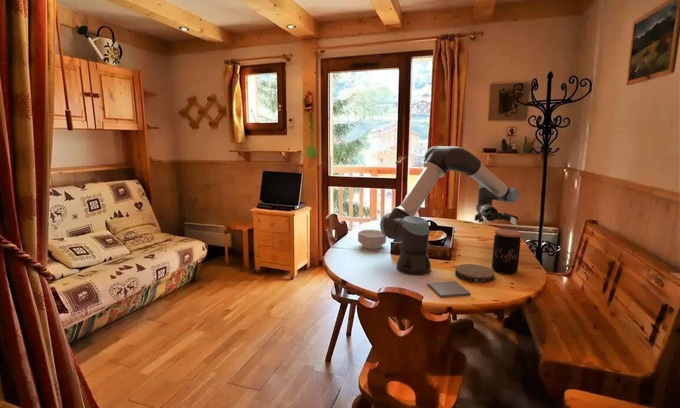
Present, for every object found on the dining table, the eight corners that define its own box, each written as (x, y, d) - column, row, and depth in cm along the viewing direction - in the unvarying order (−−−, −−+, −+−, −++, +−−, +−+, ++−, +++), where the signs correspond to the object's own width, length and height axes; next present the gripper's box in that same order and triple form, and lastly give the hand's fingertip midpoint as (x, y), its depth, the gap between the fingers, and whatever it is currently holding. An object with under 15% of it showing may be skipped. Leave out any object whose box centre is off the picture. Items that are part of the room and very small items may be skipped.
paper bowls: (391, 249, 192) (391, 235, 190) (365, 252, 186) (365, 237, 185) (377, 241, 206) (378, 228, 204) (353, 244, 200) (353, 230, 199)
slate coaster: (440, 297, 134) (440, 295, 133) (427, 285, 145) (427, 282, 145) (470, 295, 136) (470, 293, 135) (455, 283, 147) (455, 280, 147)
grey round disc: (452, 269, 164) (452, 262, 164) (489, 271, 162) (489, 265, 161) (458, 282, 149) (458, 275, 148) (498, 285, 146) (499, 278, 146)
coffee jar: (490, 272, 160) (493, 233, 156) (492, 265, 169) (495, 227, 166) (516, 276, 155) (521, 236, 152) (517, 268, 164) (521, 230, 161)
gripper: (513, 220, 190) (527, 230, 169) (464, 219, 193) (472, 229, 173) (514, 206, 189) (529, 215, 168) (465, 205, 192) (473, 213, 171)
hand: (500, 222), depth 170 cm, fingers open, 13 cm apart
